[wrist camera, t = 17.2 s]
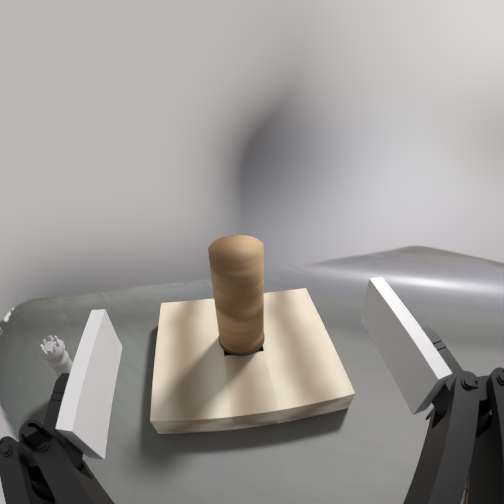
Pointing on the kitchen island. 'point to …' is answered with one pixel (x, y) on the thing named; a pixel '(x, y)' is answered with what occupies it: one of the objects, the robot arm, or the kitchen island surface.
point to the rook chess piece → (56, 355)
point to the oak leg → (238, 292)
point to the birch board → (244, 369)
